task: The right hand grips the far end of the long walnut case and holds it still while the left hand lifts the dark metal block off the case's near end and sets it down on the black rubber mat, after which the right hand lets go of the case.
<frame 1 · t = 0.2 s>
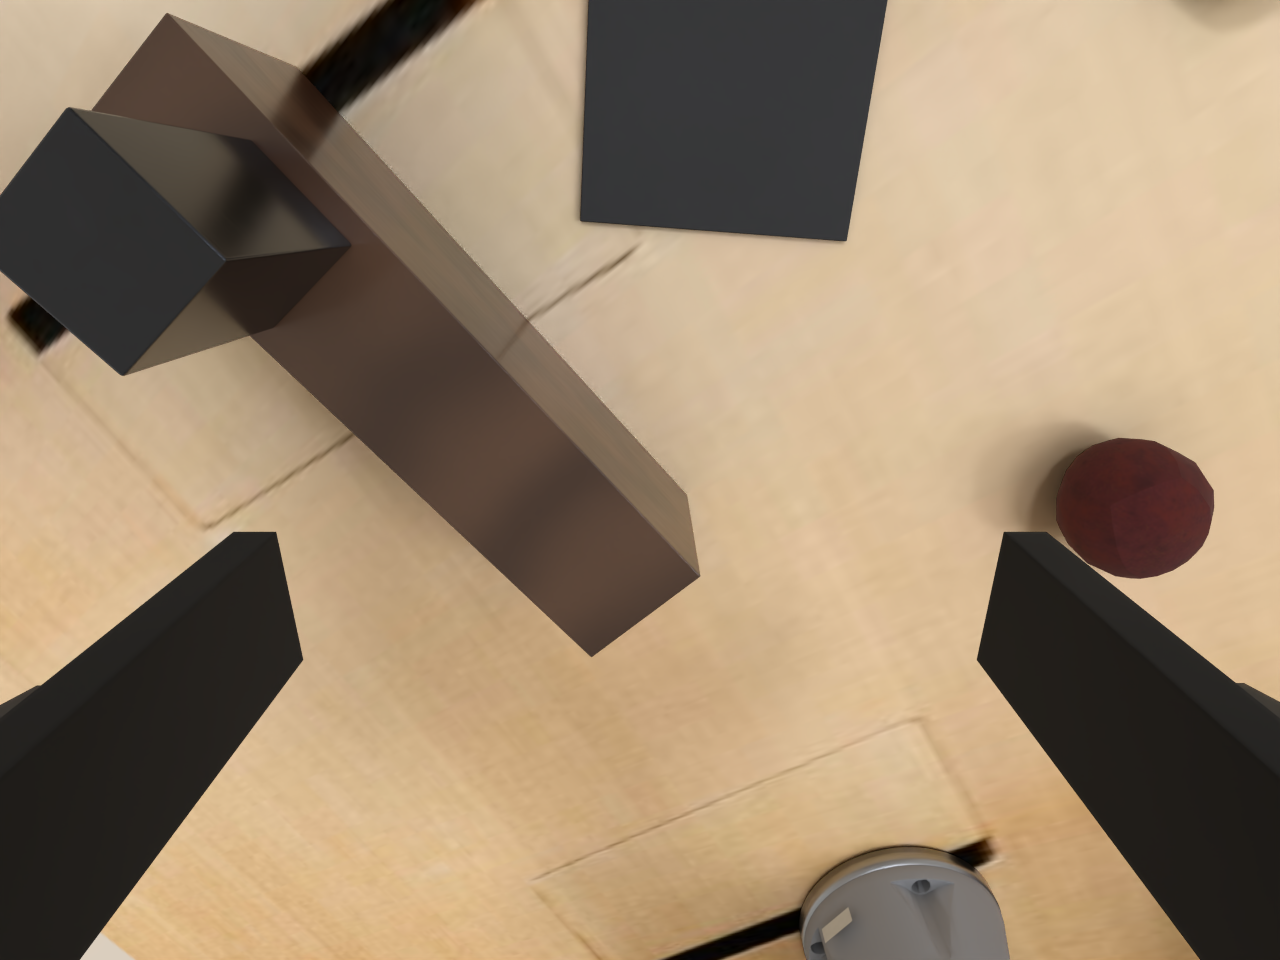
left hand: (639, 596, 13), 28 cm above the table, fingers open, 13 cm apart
walnut case: (468, 346, 39), on the table, touching metal block
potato: (1090, 481, 42), on the table
rubber mat: (729, 80, 34), on the table
metal block: (263, 238, 27), point 10 cm above the table, touching walnut case
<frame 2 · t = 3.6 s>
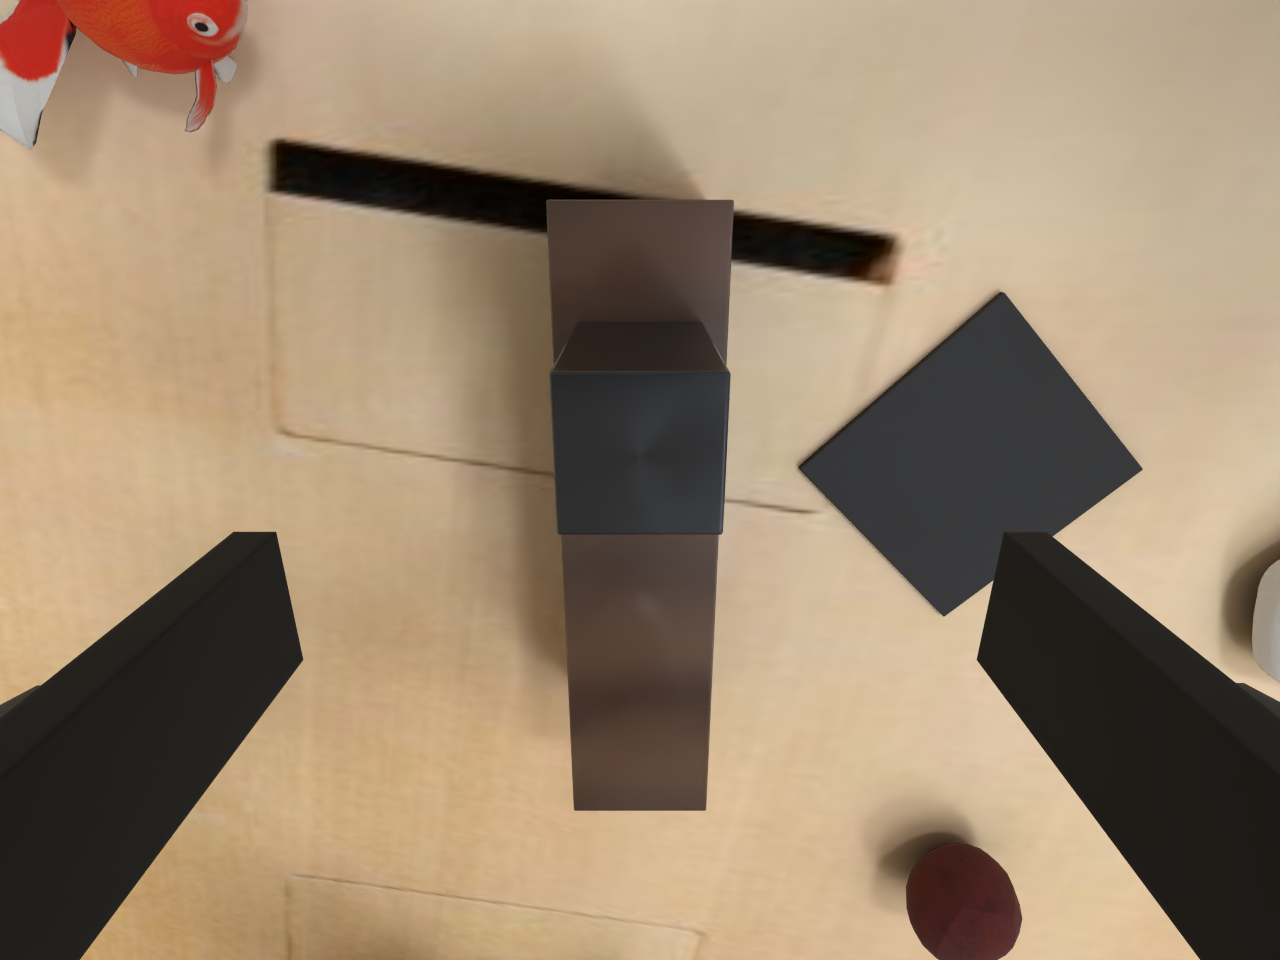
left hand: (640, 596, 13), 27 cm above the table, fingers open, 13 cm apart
walnut case: (639, 478, 41), on the table, touching metal block
fish: (143, 43, 33), on the table
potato: (941, 857, 52), on the table
rubber mat: (968, 467, 40), on the table
metal block: (639, 383, 28), point 10 cm above the table, touching walnut case
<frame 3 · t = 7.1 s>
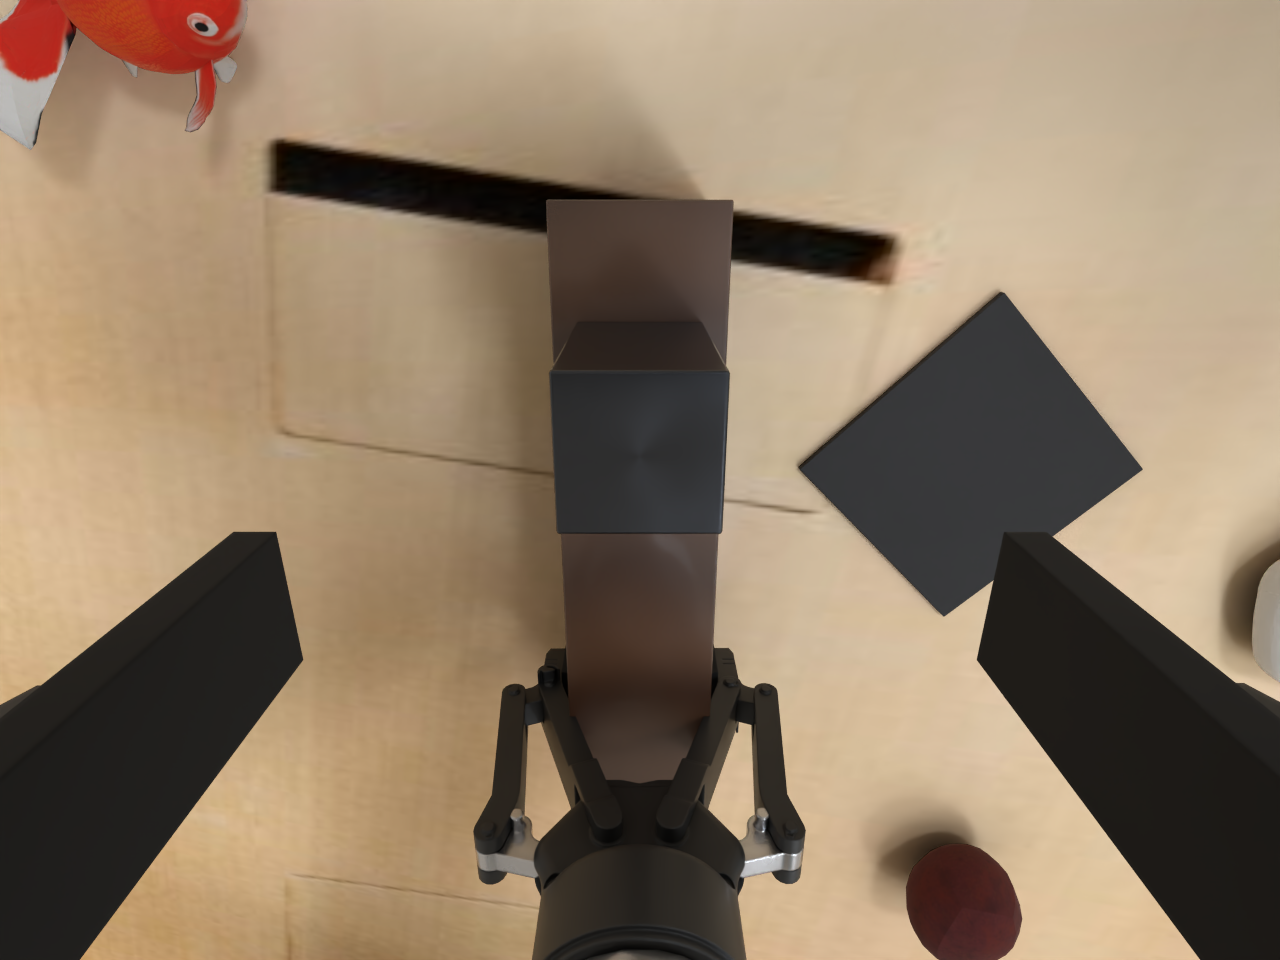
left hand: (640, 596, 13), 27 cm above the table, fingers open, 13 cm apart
right hand: (639, 626, 44), fingers closed on walnut case, 7 cm apart
walnut case: (639, 478, 41), on the table, touching right hand, metal block
fish: (143, 43, 33), on the table
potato: (941, 857, 52), on the table
rubber mat: (968, 467, 40), on the table
metal block: (639, 383, 28), point 10 cm above the table, touching walnut case
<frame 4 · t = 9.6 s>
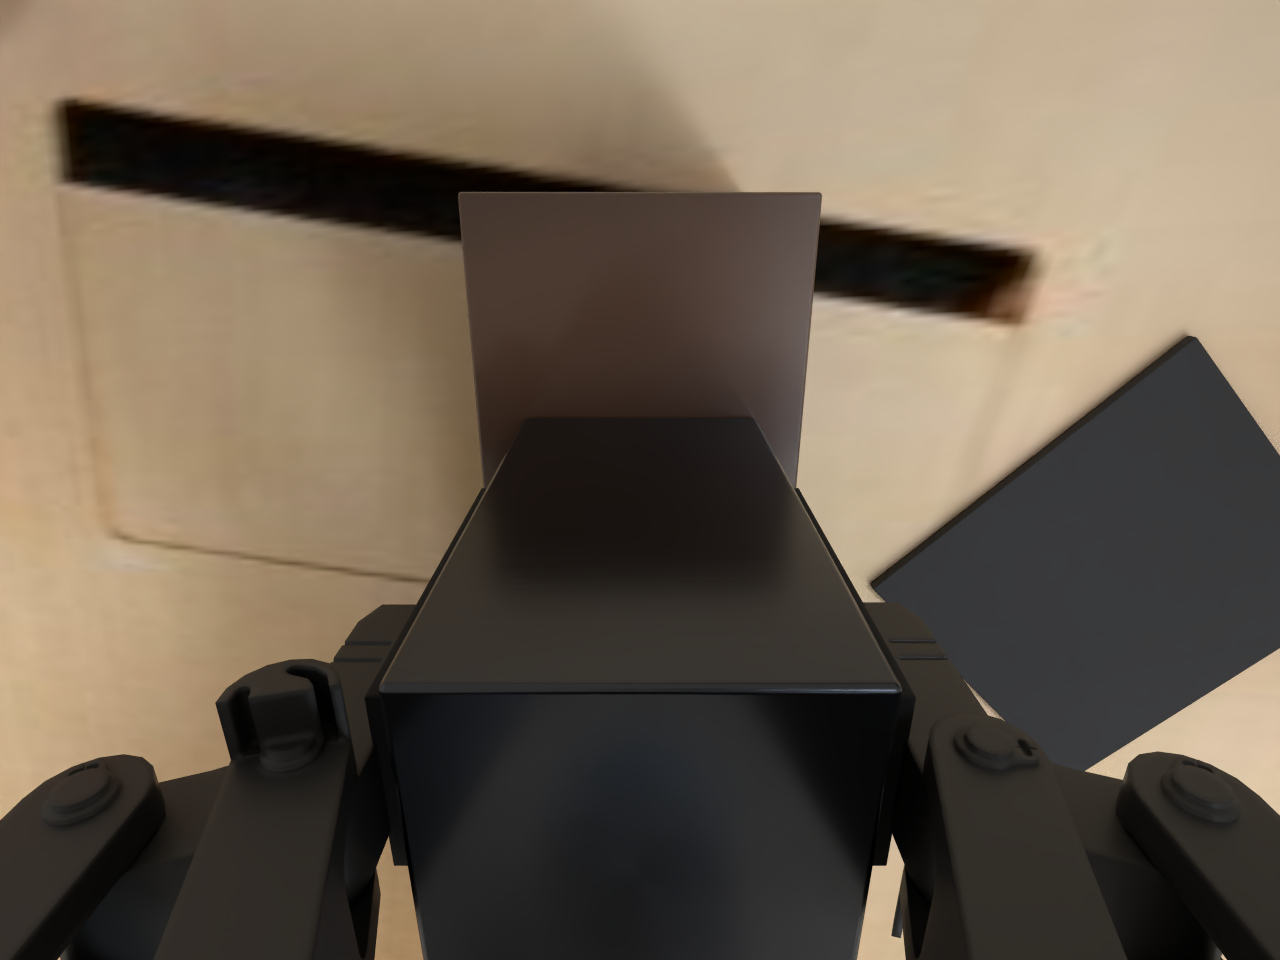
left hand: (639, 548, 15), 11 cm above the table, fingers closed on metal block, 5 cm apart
walnut case: (640, 599, 28), on the table, touching right hand, metal block
rubber mat: (1117, 584, 28), on the table
metal block: (640, 522, 16), point 10 cm above the table, touching left hand, walnut case
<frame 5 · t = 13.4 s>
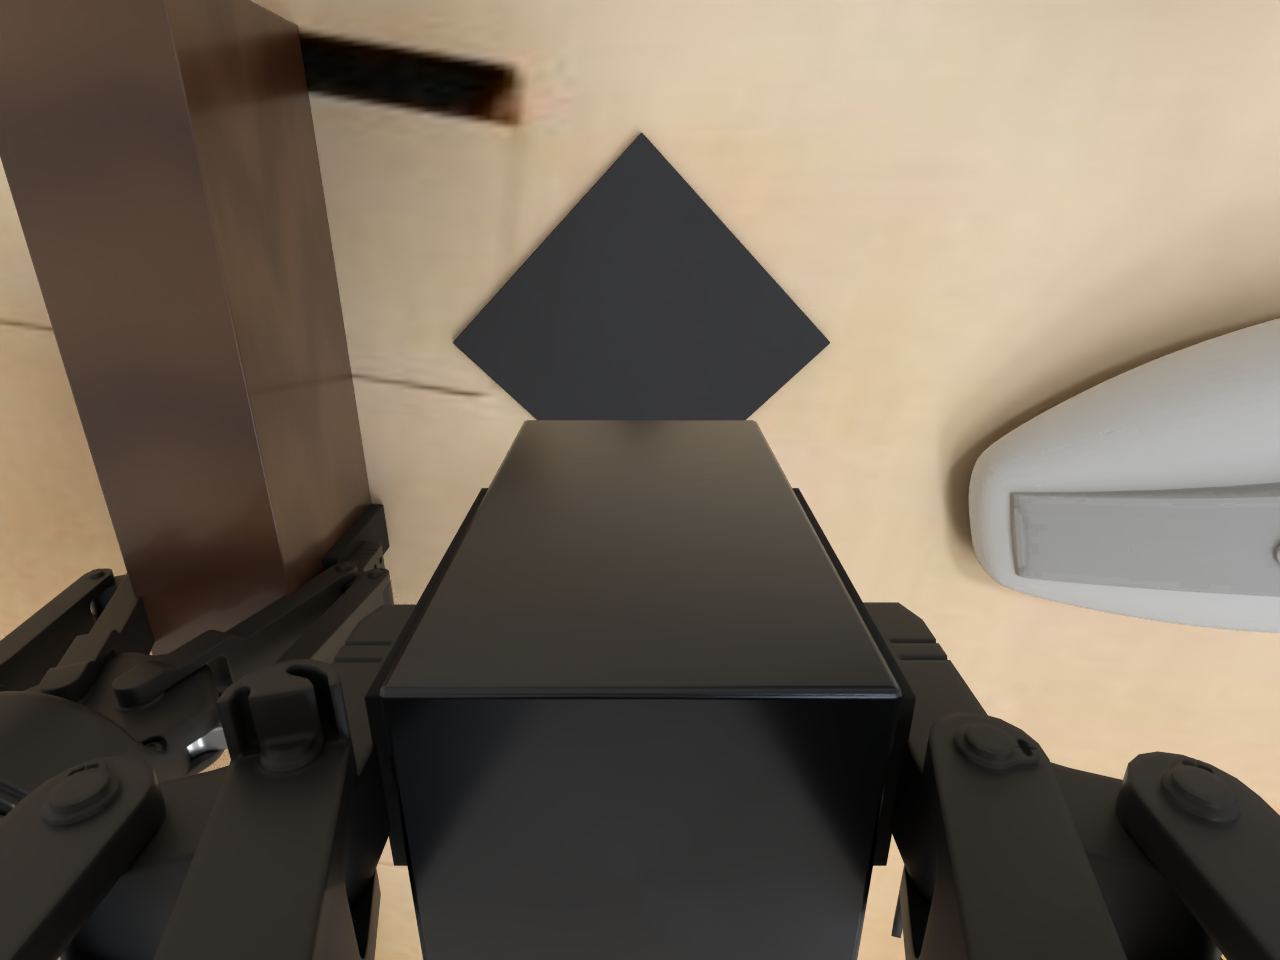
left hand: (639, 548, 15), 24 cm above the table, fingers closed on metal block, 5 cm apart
right hand: (313, 526, 40), fingers closed on walnut case, 7 cm apart
walnut case: (283, 354, 37), on the table, touching right hand
projector: (1166, 467, 39), on the table
rubber mat: (641, 341, 37), on the table
metal block: (640, 524, 16), point 23 cm above the table, touching left hand
when the left hand's fingers open (4 cm above the table, at t = 17.1 s): metal block drops 2 cm, resting on rubber mat.
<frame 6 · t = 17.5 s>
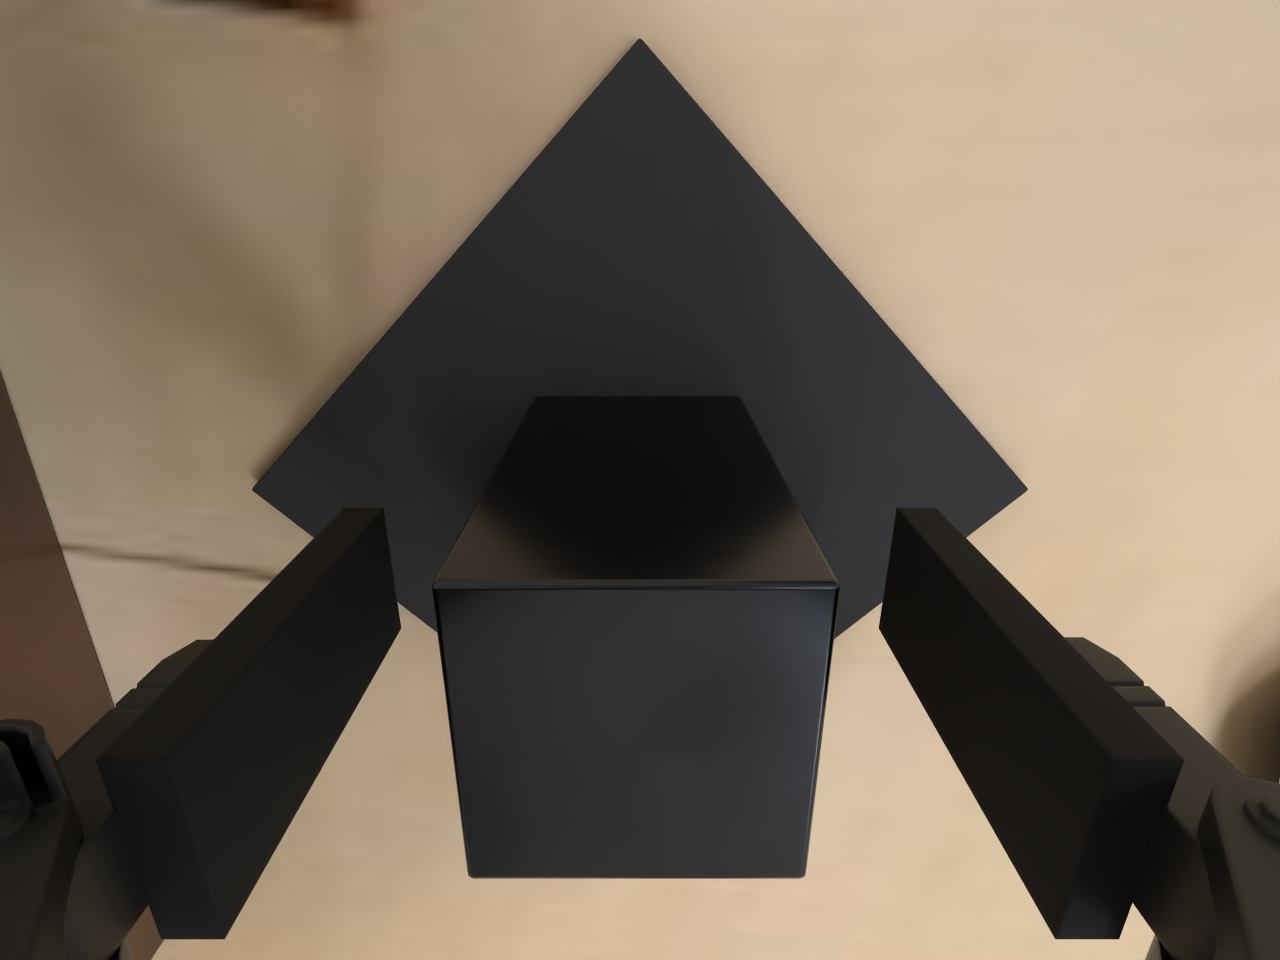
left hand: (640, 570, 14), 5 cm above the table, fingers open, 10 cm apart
rubber mat: (639, 484, 18), on the table
metal block: (638, 491, 18), resting on rubber mat
when the right hand's fingers open (0 cm above the table, at t = 20.8 s): walnut case stays where it is, on the table.
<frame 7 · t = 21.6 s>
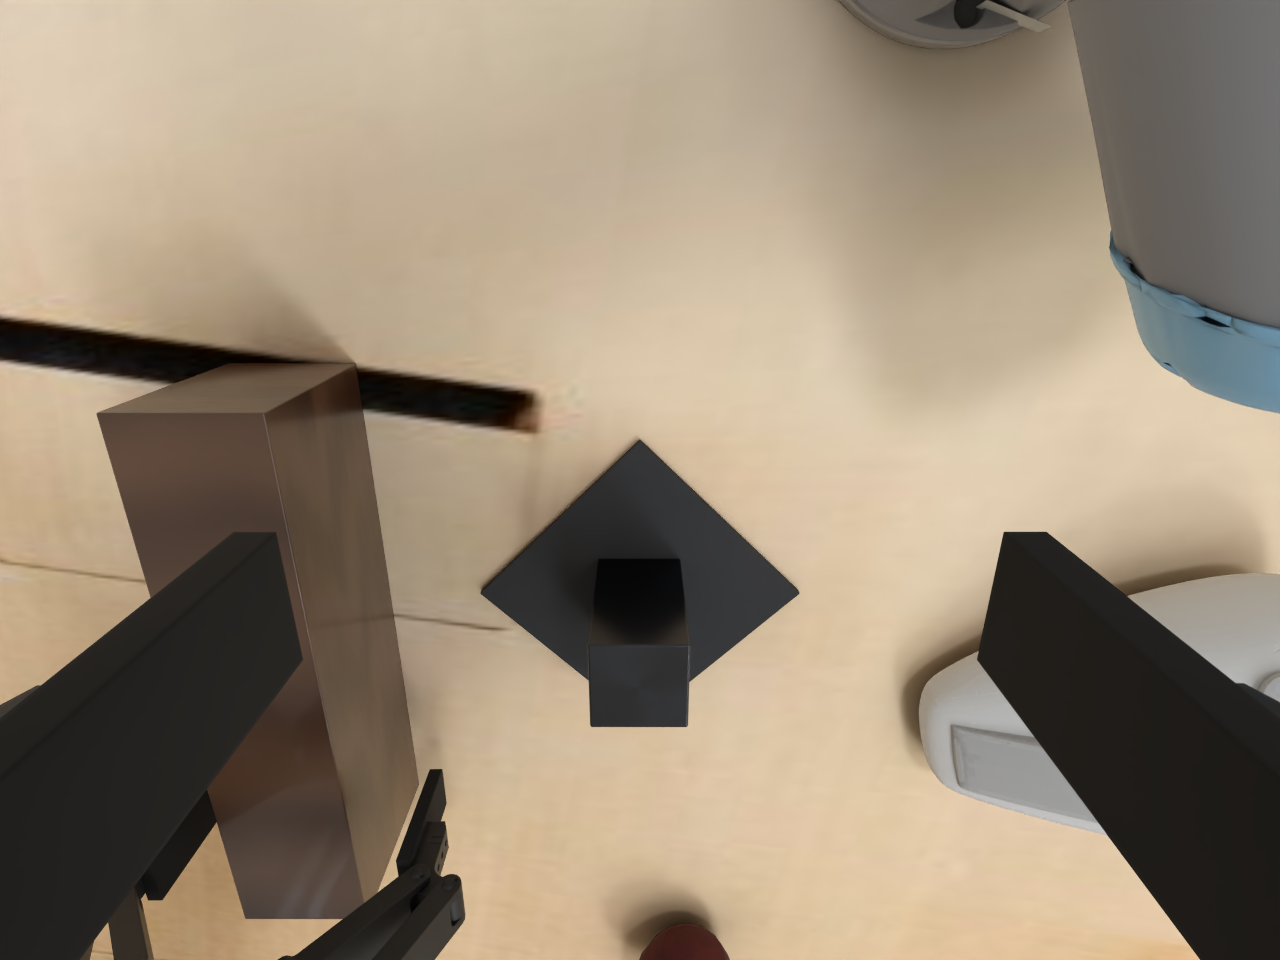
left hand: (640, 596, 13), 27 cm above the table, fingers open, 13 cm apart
walnut case: (335, 600, 44), on the table
projector: (1088, 683, 46), on the table
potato: (682, 933, 55), on the table
rubber mat: (639, 590, 43), on the table
metal block: (639, 594, 43), resting on rubber mat
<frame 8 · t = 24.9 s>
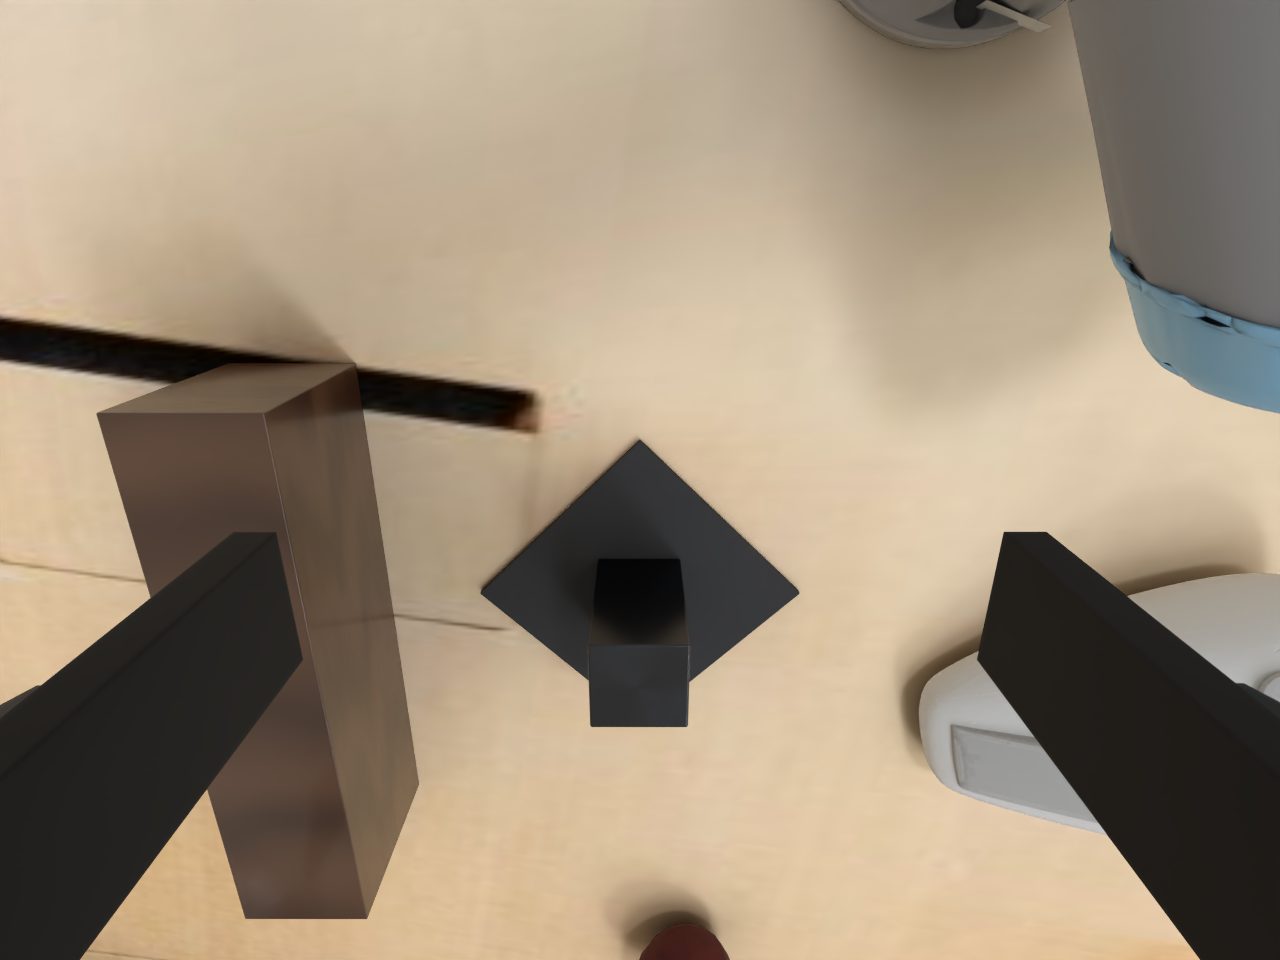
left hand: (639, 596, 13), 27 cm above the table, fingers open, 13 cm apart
walnut case: (335, 600, 44), on the table
projector: (1088, 683, 46), on the table
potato: (682, 933, 55), on the table
rubber mat: (639, 590, 43), on the table
metal block: (639, 594, 43), resting on rubber mat
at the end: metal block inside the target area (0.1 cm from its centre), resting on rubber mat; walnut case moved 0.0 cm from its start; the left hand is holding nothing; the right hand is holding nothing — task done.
